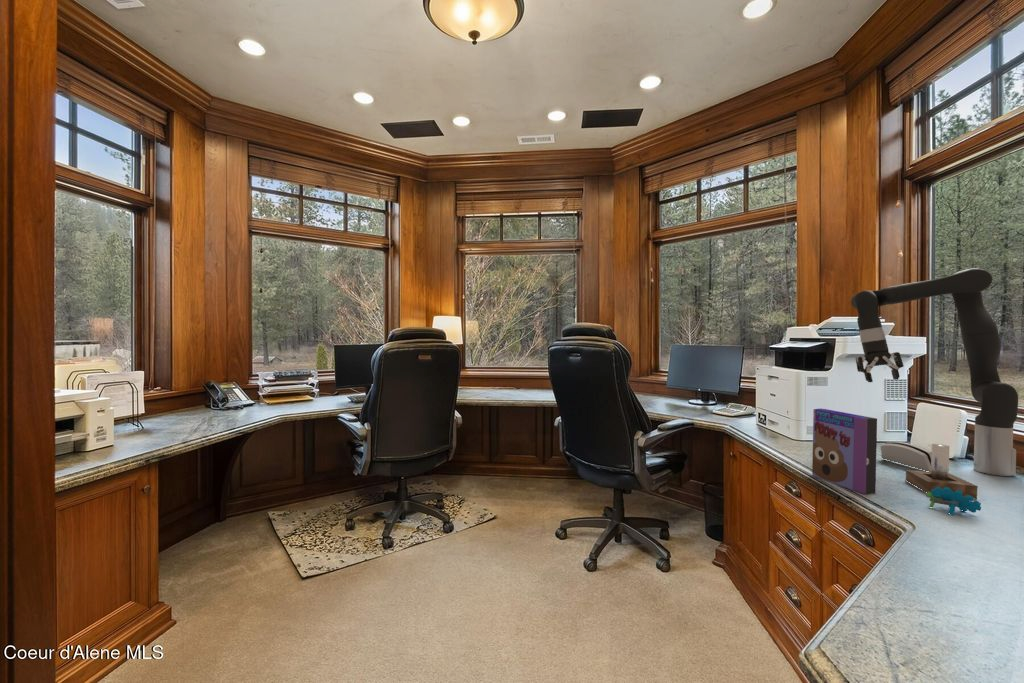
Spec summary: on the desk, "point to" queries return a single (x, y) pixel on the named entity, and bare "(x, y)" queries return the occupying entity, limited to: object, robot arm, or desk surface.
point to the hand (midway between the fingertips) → (883, 380)
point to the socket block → (940, 483)
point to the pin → (940, 462)
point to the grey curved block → (907, 455)
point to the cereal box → (845, 449)
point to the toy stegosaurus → (953, 500)
